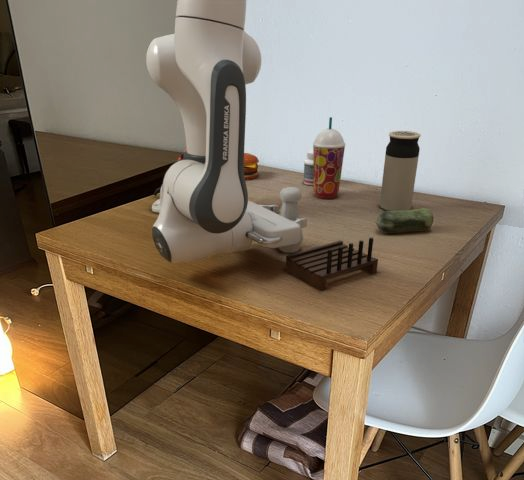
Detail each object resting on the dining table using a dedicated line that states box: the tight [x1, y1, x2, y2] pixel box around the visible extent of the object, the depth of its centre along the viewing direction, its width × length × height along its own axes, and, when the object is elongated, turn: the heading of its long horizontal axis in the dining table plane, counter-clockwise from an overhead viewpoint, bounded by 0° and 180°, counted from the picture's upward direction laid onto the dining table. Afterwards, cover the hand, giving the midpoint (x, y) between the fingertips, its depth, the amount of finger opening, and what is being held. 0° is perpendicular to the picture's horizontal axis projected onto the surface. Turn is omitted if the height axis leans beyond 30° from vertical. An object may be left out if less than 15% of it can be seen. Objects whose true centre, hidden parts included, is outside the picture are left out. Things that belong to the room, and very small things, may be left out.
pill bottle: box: [303, 149, 314, 186], centre depth 157 cm, size 5×5×9 cm
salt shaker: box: [278, 186, 304, 254], centre depth 113 cm, size 6×6×13 cm
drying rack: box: [285, 237, 379, 291], centre depth 105 cm, size 11×14×7 cm
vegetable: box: [374, 207, 435, 234], centre depth 124 cm, size 14×5×5 cm, turn 102°
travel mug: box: [379, 130, 421, 211], centre depth 135 cm, size 8×8×18 cm
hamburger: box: [244, 152, 260, 181], centre depth 164 cm, size 9×10×7 cm
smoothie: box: [312, 116, 346, 200], centre depth 143 cm, size 8×8×20 cm
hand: (291, 215), depth 113 cm, fingers open, 8 cm apart
